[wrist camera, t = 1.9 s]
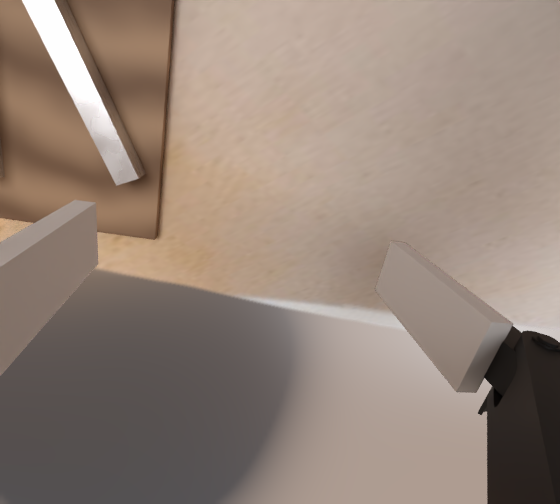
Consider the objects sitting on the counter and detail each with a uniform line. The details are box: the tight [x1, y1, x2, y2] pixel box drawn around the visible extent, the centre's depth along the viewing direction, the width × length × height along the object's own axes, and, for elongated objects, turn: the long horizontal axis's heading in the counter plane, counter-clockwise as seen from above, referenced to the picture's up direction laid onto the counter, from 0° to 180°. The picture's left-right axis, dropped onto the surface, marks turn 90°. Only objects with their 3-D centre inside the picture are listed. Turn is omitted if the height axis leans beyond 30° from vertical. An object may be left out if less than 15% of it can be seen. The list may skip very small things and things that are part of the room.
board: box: [0, 0, 175, 240], centre depth 26 cm, size 28×19×1 cm
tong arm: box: [22, 0, 146, 186], centre depth 25 cm, size 19×3×3 cm, turn 16°
